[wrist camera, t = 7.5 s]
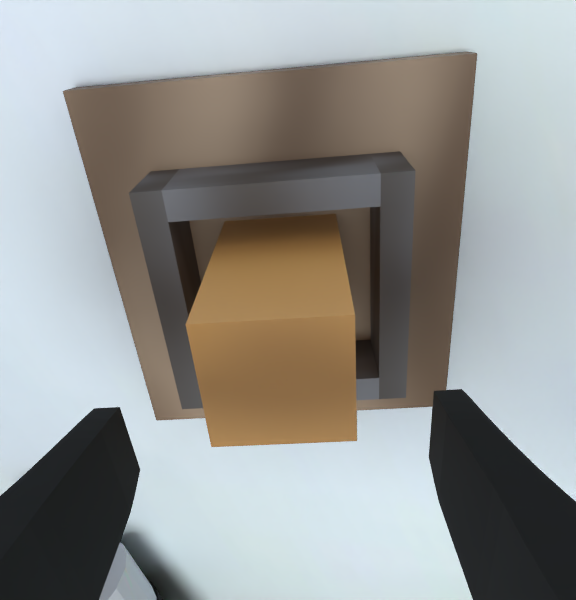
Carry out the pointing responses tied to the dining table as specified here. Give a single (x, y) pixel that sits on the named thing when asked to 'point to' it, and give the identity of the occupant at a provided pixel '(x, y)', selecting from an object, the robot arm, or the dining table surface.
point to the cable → (127, 580)
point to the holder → (288, 201)
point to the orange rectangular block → (276, 334)
